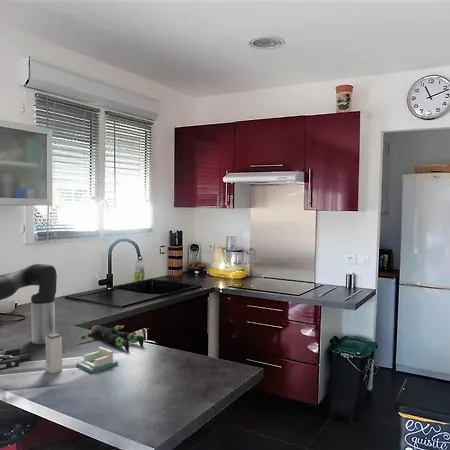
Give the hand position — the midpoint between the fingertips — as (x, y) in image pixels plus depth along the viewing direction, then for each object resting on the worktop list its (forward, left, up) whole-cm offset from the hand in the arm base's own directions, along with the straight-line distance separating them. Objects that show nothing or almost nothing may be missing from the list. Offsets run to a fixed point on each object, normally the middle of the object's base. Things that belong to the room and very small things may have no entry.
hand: (24, 354), depth 150 cm
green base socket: (+6, +24, -9) cm, 26 cm away
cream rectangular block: (-1, +11, -9) cm, 14 cm away
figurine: (-14, +44, -9) cm, 47 cm away
